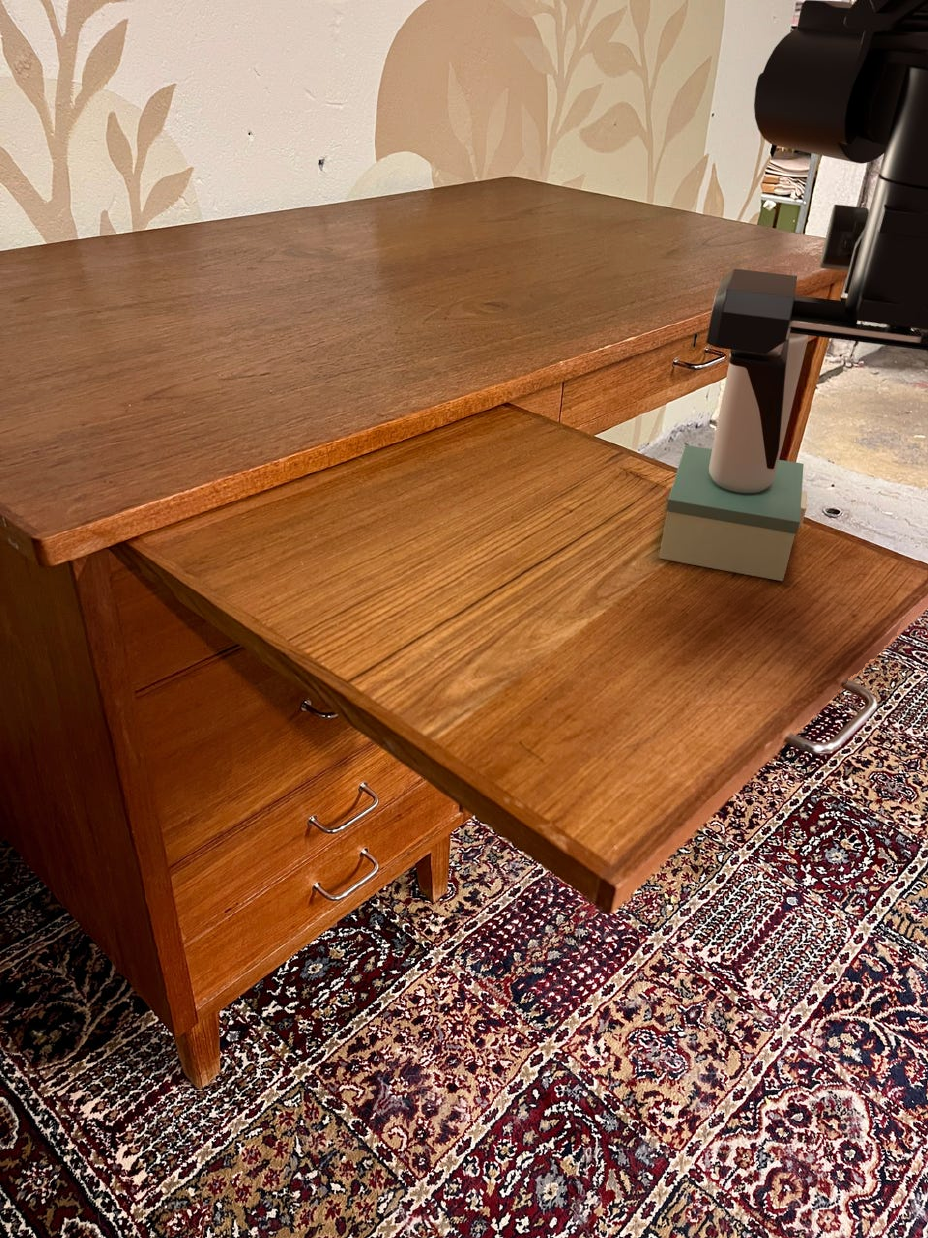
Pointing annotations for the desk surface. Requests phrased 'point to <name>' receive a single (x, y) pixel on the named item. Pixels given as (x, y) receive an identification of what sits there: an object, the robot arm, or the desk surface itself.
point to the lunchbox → (732, 519)
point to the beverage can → (749, 427)
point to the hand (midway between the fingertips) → (854, 479)
